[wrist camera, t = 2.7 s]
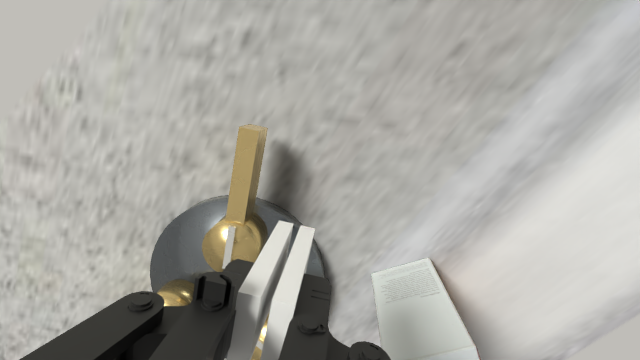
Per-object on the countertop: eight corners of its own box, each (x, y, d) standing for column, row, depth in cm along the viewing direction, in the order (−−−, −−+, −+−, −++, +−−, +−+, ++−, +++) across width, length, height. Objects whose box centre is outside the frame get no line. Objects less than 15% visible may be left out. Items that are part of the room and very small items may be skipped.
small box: (451, 322, 36) (507, 444, 23) (392, 336, 37) (415, 461, 24) (430, 254, 34) (477, 346, 21) (369, 271, 35) (381, 368, 22)
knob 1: (193, 274, 34) (172, 298, 30) (211, 314, 35) (193, 343, 31) (86, 303, 36) (52, 330, 32) (105, 341, 37) (75, 371, 33)
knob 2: (263, 260, 33) (251, 282, 29) (216, 249, 33) (197, 270, 29) (286, 131, 30) (277, 136, 26) (234, 119, 30) (217, 123, 26)
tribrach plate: (168, 177, 34) (110, 203, 26) (341, 216, 34) (338, 255, 25) (153, 326, 39) (99, 389, 30) (306, 363, 38) (294, 438, 30)
